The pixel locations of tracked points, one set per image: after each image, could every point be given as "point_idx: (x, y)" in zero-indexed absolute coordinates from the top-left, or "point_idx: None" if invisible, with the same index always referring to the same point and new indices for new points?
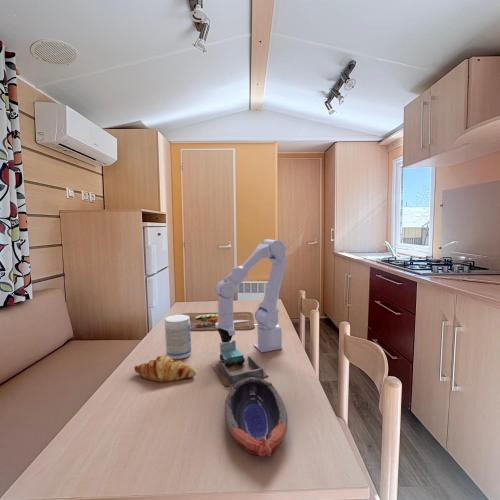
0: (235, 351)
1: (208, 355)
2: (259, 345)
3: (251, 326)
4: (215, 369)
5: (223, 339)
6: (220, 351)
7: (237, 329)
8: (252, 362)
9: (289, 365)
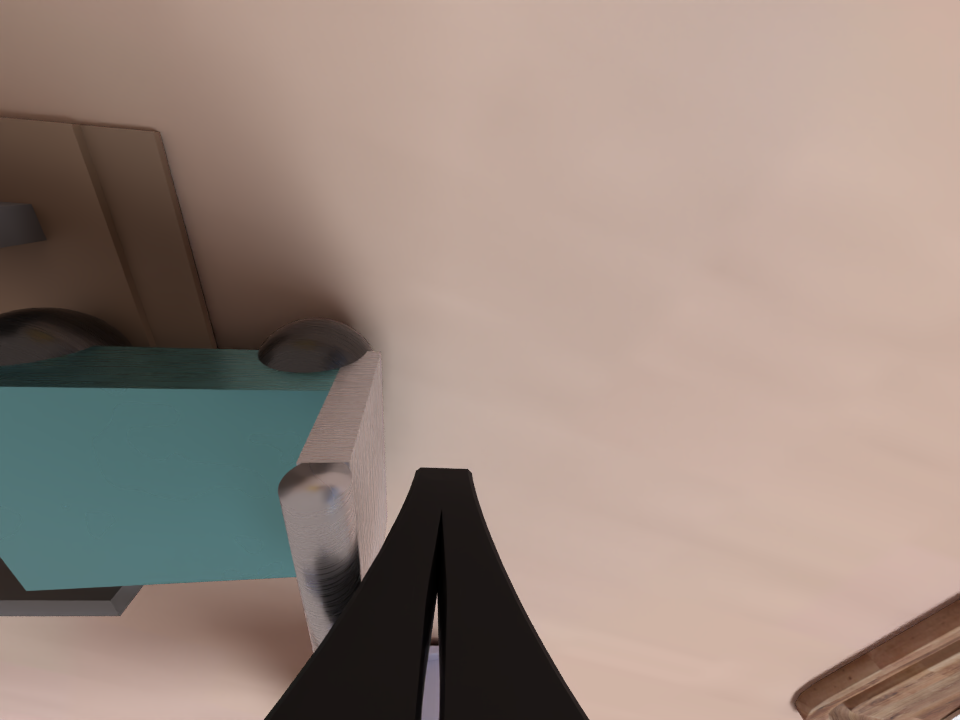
0: (222, 550)
1: (587, 231)
2: (433, 689)
3: (837, 712)
4: (20, 135)
5: (326, 644)
6: (340, 386)
7: (891, 648)
8: (2, 575)
9: (110, 689)
